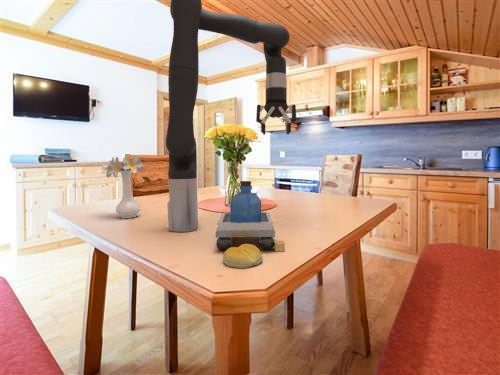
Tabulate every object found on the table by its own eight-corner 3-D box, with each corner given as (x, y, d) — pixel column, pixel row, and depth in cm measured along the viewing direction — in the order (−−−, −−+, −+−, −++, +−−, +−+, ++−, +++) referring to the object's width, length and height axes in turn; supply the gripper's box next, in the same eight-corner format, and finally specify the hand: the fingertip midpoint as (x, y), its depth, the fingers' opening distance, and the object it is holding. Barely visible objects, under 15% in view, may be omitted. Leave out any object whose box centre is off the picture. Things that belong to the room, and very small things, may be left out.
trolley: (216, 252, 73) (215, 223, 73) (221, 236, 88) (221, 212, 87) (284, 251, 73) (284, 223, 73) (278, 235, 88) (278, 211, 88)
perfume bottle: (249, 227, 76) (249, 182, 75) (230, 225, 79) (229, 181, 78) (261, 223, 81) (261, 180, 80) (242, 220, 85) (242, 180, 83)
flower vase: (119, 213, 126) (116, 155, 124) (155, 215, 121) (153, 155, 118) (95, 219, 114) (91, 155, 111) (135, 222, 109) (131, 155, 106)
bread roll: (217, 261, 68) (217, 244, 68) (249, 254, 73) (249, 238, 72) (234, 272, 61) (234, 254, 61) (268, 264, 66) (268, 247, 65)
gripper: (256, 85, 99) (256, 133, 100) (297, 85, 99) (297, 133, 101) (255, 90, 106) (256, 135, 108) (294, 90, 106) (294, 135, 108)
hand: (276, 134), depth 104 cm, fingers open, 8 cm apart
